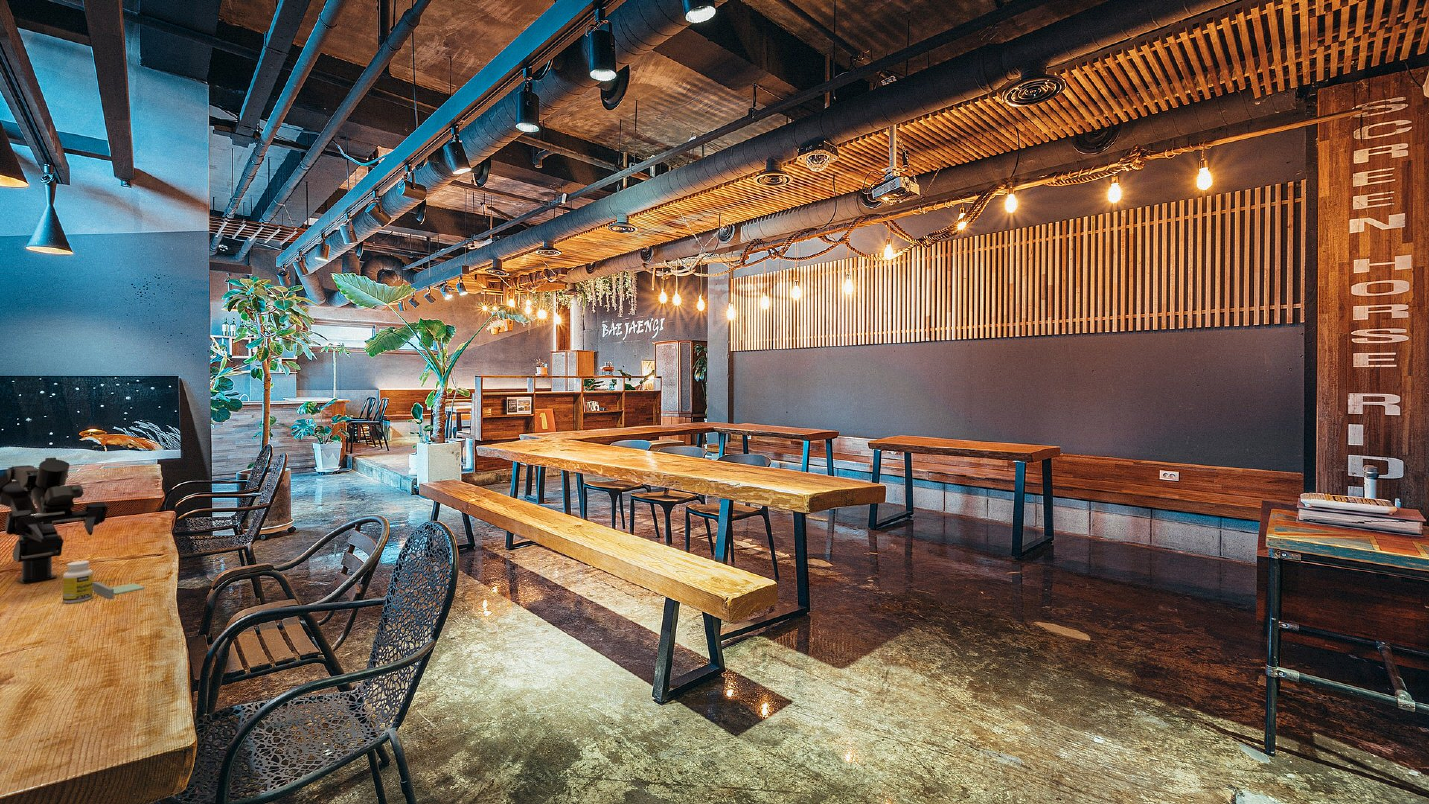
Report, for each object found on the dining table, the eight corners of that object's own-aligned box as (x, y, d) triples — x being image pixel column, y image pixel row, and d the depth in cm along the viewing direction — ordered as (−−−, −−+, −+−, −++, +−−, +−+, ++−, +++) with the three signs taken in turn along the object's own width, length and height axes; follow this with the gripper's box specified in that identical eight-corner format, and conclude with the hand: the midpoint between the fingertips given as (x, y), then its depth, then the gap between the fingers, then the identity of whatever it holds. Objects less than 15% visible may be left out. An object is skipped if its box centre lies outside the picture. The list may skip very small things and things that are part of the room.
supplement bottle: (77, 604, 157) (77, 565, 157) (56, 603, 157) (56, 565, 157) (98, 597, 163) (98, 560, 162) (78, 596, 163) (78, 559, 163)
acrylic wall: (92, 591, 167) (92, 582, 167) (96, 590, 167) (96, 581, 167) (109, 599, 161) (109, 589, 161) (113, 598, 161) (113, 589, 161)
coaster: (105, 590, 168) (105, 588, 168) (134, 584, 173) (134, 583, 173) (115, 594, 164) (115, 593, 164) (144, 588, 169) (144, 587, 169)
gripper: (5, 481, 160) (20, 519, 153) (102, 473, 176) (120, 508, 169) (-2, 515, 163) (13, 553, 156) (95, 504, 179) (112, 539, 173)
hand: (67, 537), depth 164 cm, fingers open, 9 cm apart
